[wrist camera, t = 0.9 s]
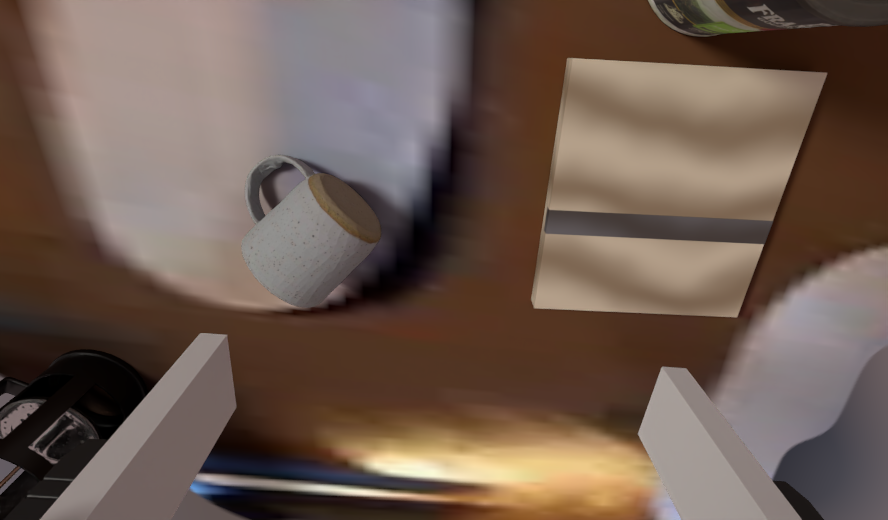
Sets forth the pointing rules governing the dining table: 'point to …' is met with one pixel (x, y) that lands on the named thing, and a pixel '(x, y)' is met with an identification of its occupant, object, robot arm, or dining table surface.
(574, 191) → the plywood board
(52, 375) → the french press
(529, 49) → the dining table surface
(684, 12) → the coffee can
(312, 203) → the ceramic mug
